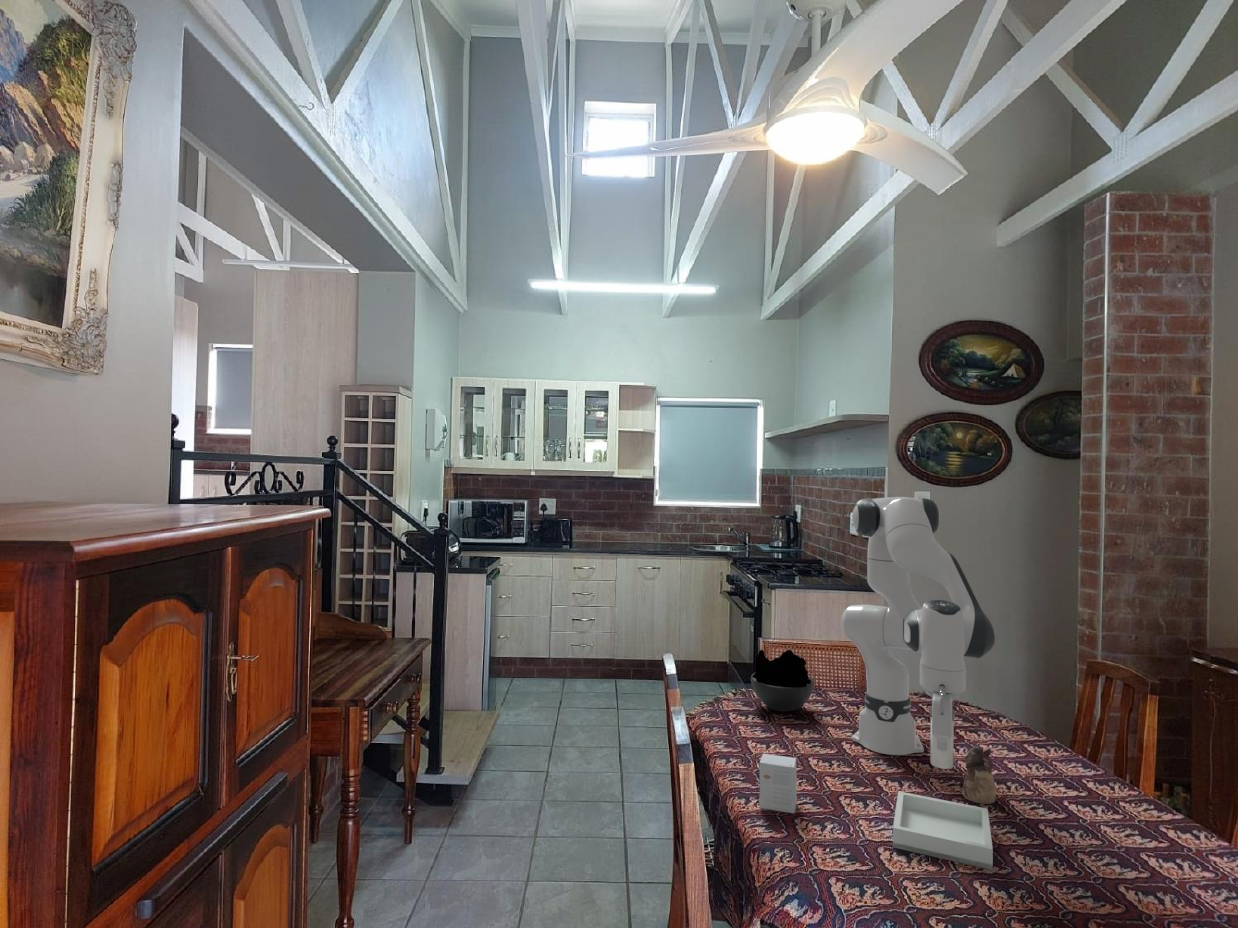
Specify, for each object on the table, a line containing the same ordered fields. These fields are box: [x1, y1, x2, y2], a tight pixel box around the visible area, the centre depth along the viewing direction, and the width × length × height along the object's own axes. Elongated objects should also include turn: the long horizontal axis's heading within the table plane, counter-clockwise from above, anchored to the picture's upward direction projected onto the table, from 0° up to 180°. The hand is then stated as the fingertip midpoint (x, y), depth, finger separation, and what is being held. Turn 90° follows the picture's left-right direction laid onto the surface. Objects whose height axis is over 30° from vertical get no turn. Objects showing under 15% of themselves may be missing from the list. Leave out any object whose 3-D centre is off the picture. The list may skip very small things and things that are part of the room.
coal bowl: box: [750, 649, 815, 712], centre depth 221 cm, size 20×20×19 cm
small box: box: [759, 753, 798, 814], centre depth 157 cm, size 8×6×10 cm
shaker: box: [929, 705, 956, 770], centre depth 144 cm, size 5×5×12 cm
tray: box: [892, 790, 994, 871], centre depth 144 cm, size 18×18×4 cm
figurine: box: [961, 745, 997, 805], centre depth 162 cm, size 7×7×12 cm
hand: (941, 744), depth 144 cm, fingers closed on shaker, 4 cm apart
